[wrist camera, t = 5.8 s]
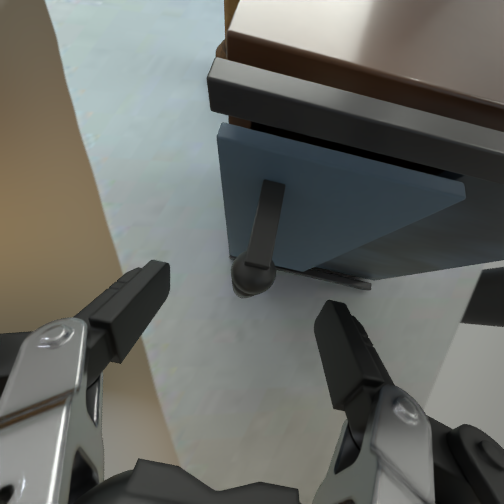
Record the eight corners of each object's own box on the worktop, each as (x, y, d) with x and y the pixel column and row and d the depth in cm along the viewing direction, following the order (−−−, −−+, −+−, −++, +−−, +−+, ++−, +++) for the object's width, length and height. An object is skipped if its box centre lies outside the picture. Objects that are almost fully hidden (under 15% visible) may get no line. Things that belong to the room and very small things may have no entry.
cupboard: (370, 197, 23) (653, -23, 7) (366, 290, 19) (860, 245, 4) (252, 168, 22) (291, -129, 7) (229, 258, 19) (205, 77, 4)
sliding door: (304, 266, 18) (465, 182, 5) (297, 312, 17) (487, 341, 4) (230, 249, 18) (221, 120, 5) (219, 294, 17) (169, 269, 4)
